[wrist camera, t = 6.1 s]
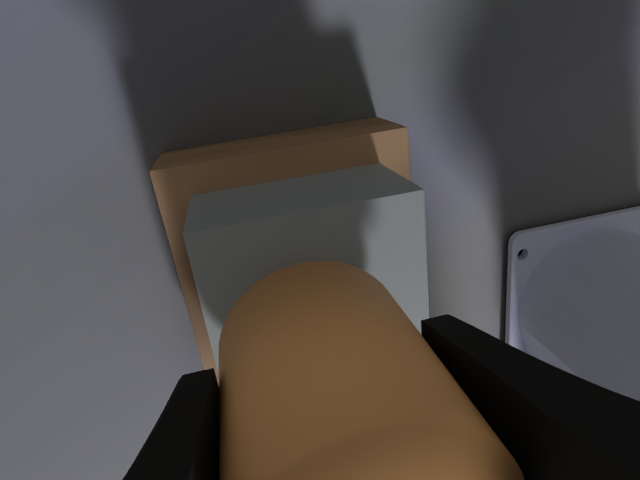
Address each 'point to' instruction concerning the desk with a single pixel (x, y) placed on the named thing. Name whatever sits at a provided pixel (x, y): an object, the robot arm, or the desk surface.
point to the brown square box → (263, 180)
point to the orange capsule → (342, 388)
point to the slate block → (308, 236)
